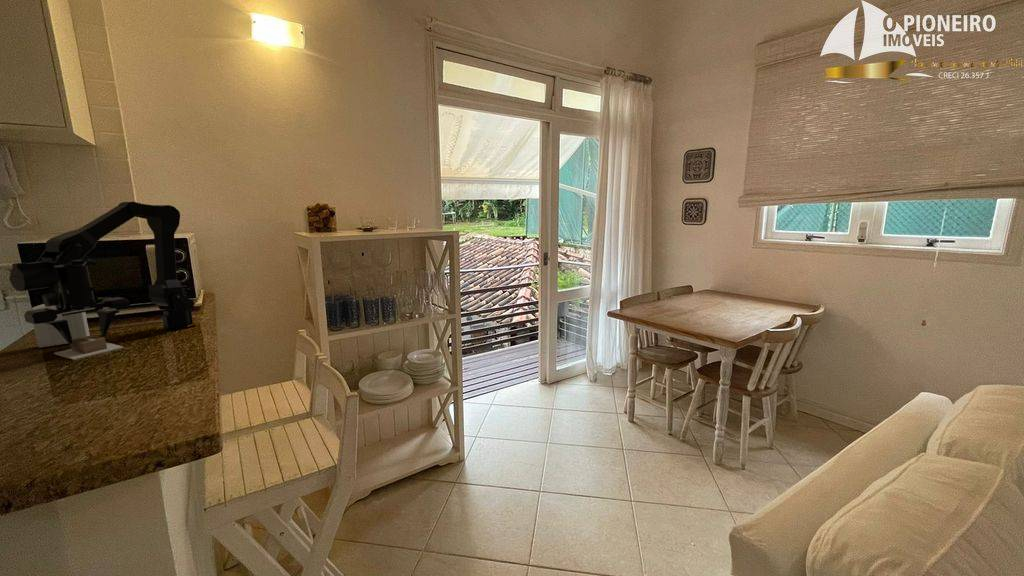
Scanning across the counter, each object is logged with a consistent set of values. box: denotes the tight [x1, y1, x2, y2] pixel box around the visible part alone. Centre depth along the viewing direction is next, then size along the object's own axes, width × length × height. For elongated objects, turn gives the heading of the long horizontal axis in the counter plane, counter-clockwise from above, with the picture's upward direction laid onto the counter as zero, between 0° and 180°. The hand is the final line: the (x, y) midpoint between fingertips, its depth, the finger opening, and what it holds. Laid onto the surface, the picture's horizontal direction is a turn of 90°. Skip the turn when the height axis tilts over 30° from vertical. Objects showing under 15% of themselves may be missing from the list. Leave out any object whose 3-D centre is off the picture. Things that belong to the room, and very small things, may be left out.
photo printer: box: [31, 303, 91, 349], centre depth 114 cm, size 10×4×12 cm, turn 134°
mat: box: [53, 341, 124, 361], centre depth 108 cm, size 10×11×1 cm
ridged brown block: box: [70, 335, 107, 354], centre depth 108 cm, size 7×4×3 cm, turn 67°
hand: (87, 339), depth 108 cm, fingers open, 6 cm apart
